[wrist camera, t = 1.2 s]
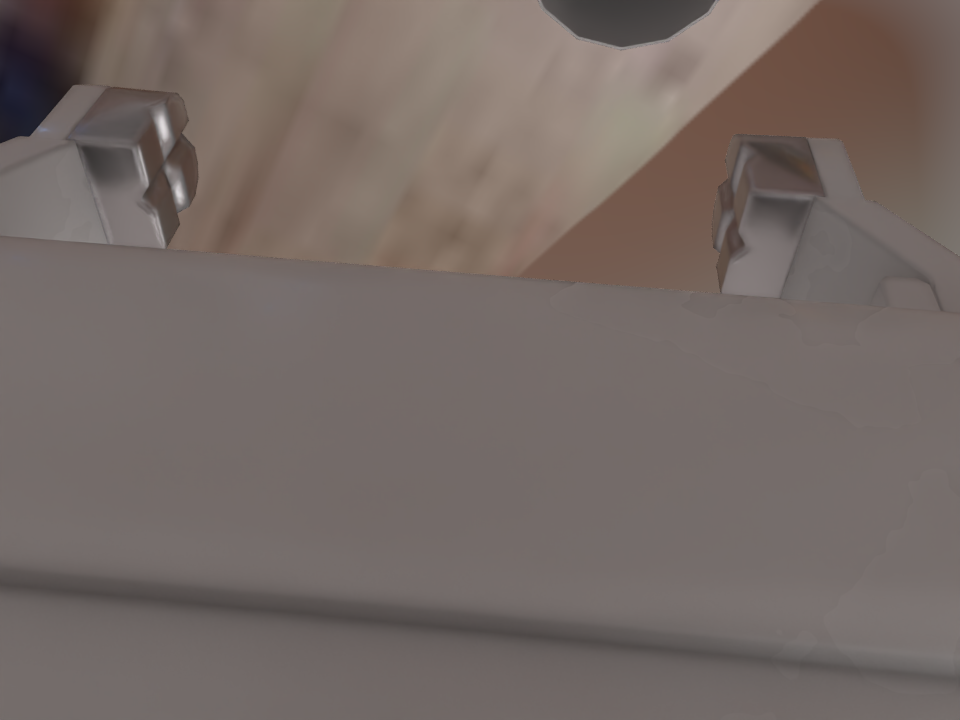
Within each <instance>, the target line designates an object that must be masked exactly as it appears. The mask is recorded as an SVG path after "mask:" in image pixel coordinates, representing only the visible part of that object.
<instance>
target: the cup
mask: <svg viewBox="0 0 960 720" xmlns="http://www.w3.org/2000/svg"><path fill="white" fill-rule="evenodd" d="M718 1H719V0H538V2H539V5H540V7H541V9H542V10H543V11H544V12H545V13H546V14H547V15H549V16H550V17H551V18H552V19H553V20H555V21H556V22H557V23H558V24H559V25H561V26H562V27H563V28H564V29H565V30H567V31H568V32H569V33H570V34H571V35H573V36H574V37H575V38H576V39H578V40H582V41H586V42H590V43H594V44H598V45H602V46H606V47H610V48H614V49H618V50H626V49H631V48H637V47H642V46H647V45H653V44H658V43H664V42H668V41H670V40H671V39H673V38H674V37H676V36H677V35H679V34H680V33H682V32H684V31H685V30H687V29H688V28H690V27H691V26H693V25H694V24H696V23H697V22H699V21H700V20H702V19H703V18H705V17H706V16H708V15H709V14H710V13H711V12H712V10H713V9H714V7H715V6H716V4H717V3H718Z"/></svg>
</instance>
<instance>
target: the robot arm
mask: <svg viewBox="0 0 960 720" xmlns="http://www.w3.org/2000/svg"><path fill="white" fill-rule="evenodd" d="M188 121H189V120H188V116H187V112H186V108H185V104H184V100H183V99H182V98H181V97H180V96H179V94H178V93H174V92H163V91H152V90H141V89H131V88H120V87H110V86H101V85H74V86H73V87H72V88H71V89H70V90H69V91H68V93H67V94H66V95H65V96H64V97H63V98H62V100H61V101H60V102H59V103H58V104H57V105H56V107H55V108H54V109H53V110H52V111H51V112H50V114H49V115H48V116H47V117H46V118H45V119H44V121H43V122H42V123H41V124H40V125H39V126H38V128H37V129H36V130H35V131H34V132H33V134H32V135H31V136H30V137H22V136H19V137H16V138H14V139H11V140H9V141H6V142H4V143H1V144H0V720H960V257H959V256H958V255H957V254H955V253H953V252H952V251H950V250H949V249H947V248H946V247H944V246H943V245H941V244H940V243H938V242H937V241H935V240H934V239H932V238H931V237H929V236H927V235H926V234H925V233H923V232H922V231H920V230H919V229H917V228H915V227H914V226H912V225H911V224H909V223H907V222H906V221H905V220H903V219H902V218H900V217H899V216H897V215H896V214H894V213H893V212H891V211H890V210H888V209H887V208H885V207H884V206H882V205H880V204H879V203H877V202H876V201H868V200H865V199H864V196H863V194H862V191H861V188H860V186H859V183H858V180H857V178H856V175H855V173H854V170H853V167H852V165H851V162H850V159H849V157H848V154H847V152H846V149H845V146H844V144H843V142H842V141H841V140H839V139H829V138H806V137H789V136H768V135H747V134H736V135H733V137H732V140H731V142H730V145H729V148H728V152H727V155H726V159H725V163H726V168H727V174H728V179H727V180H726V181H724V182H723V183H722V184H721V185H720V186H719V187H718V191H717V195H716V200H715V204H714V211H713V219H712V240H713V248H714V249H716V250H717V251H718V252H719V253H720V254H719V259H718V262H717V266H716V268H717V273H718V280H719V286H720V292H721V294H720V293H708V292H695V291H682V290H670V289H658V288H644V287H633V286H620V285H608V284H595V283H583V282H570V281H558V280H545V279H532V278H520V277H508V276H495V275H483V274H471V273H458V272H446V271H434V270H421V269H409V268H397V267H384V266H372V265H359V264H347V263H335V262H322V261H310V260H298V259H285V258H273V257H261V256H248V255H236V254H224V253H211V252H199V251H187V250H174V249H166V248H167V247H168V245H169V243H170V241H171V239H172V238H173V236H174V234H175V232H176V230H177V229H178V227H179V225H180V222H179V218H178V214H177V213H179V212H180V211H182V210H184V209H186V208H188V207H190V205H191V203H192V201H193V199H194V197H195V194H196V189H197V183H198V161H197V156H196V152H195V147H194V146H193V145H192V144H191V143H190V142H189V141H188V140H187V138H186V137H185V136H184V135H183V134H182V131H183V130H184V128H185V126H186V125H187V123H188Z"/></svg>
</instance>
